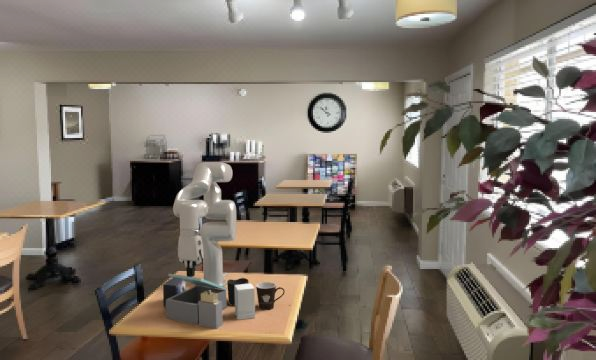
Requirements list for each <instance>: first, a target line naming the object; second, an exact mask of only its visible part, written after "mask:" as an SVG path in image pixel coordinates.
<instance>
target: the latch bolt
mask: <svg viewBox="0 0 596 360" xmlns="http://www.w3.org/2000/svg"><path fill="white" fill-rule="evenodd" d="M201 301H205V302H210V303H214V302H216V301H218V293H213V292H211V290H207V291H205V292H203V293H201Z"/></svg>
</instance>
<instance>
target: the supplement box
mask: <svg viewBox="0 0 596 360" xmlns="http://www.w3.org/2000/svg"><path fill="white" fill-rule="evenodd" d="M234 291H235V306H234V315H235V317H236V318H237V320H246V319H247V320H249V319H254V318H256V304H255V302H256V299H255V297H256V295H255V286H254V285H253V284H252V283H248V284H240V285H234Z"/></svg>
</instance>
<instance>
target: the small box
mask: <svg viewBox="0 0 596 360" xmlns="http://www.w3.org/2000/svg"><path fill="white" fill-rule="evenodd" d="M186 284H187V282H185V281H182V280H179V279H176V278H173V277H171V278H170V279H168V280H167V281H166V282H164V283H162V292H163V293H162V295H163V297H162V298H163V303H162V304H163V306H162V307H163V308H166V299H168V298H170V297H173V296H175V295H177V294H179V293H181V292H183V291H185V290H187V288H186Z"/></svg>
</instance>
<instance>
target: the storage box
mask: <svg viewBox="0 0 596 360" xmlns="http://www.w3.org/2000/svg"><path fill="white" fill-rule="evenodd" d="M207 290H211V292H213V293H218V301H216V302H214V303H210V302H205V301H201V293H203V292H205V291H207ZM226 309H227V289H226V290H222V289H216V288H209V287H203V286H198V285H193V286H192V287H190V288H188V289H187V288H186V290H185V291H183V292H181V293H179V294H177V295H175V296H173V297H170V298H168V299H166V307H165V310H166V311H165V312H166V314H165V315H166V319H168V320H172V321H176V322H177V321H178V322H183V323H187V324H193V325H196V326H198V325H199V326H202V327H207V328H212V329H219V328H220V327H222V326H223V311H224V310H226Z"/></svg>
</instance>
